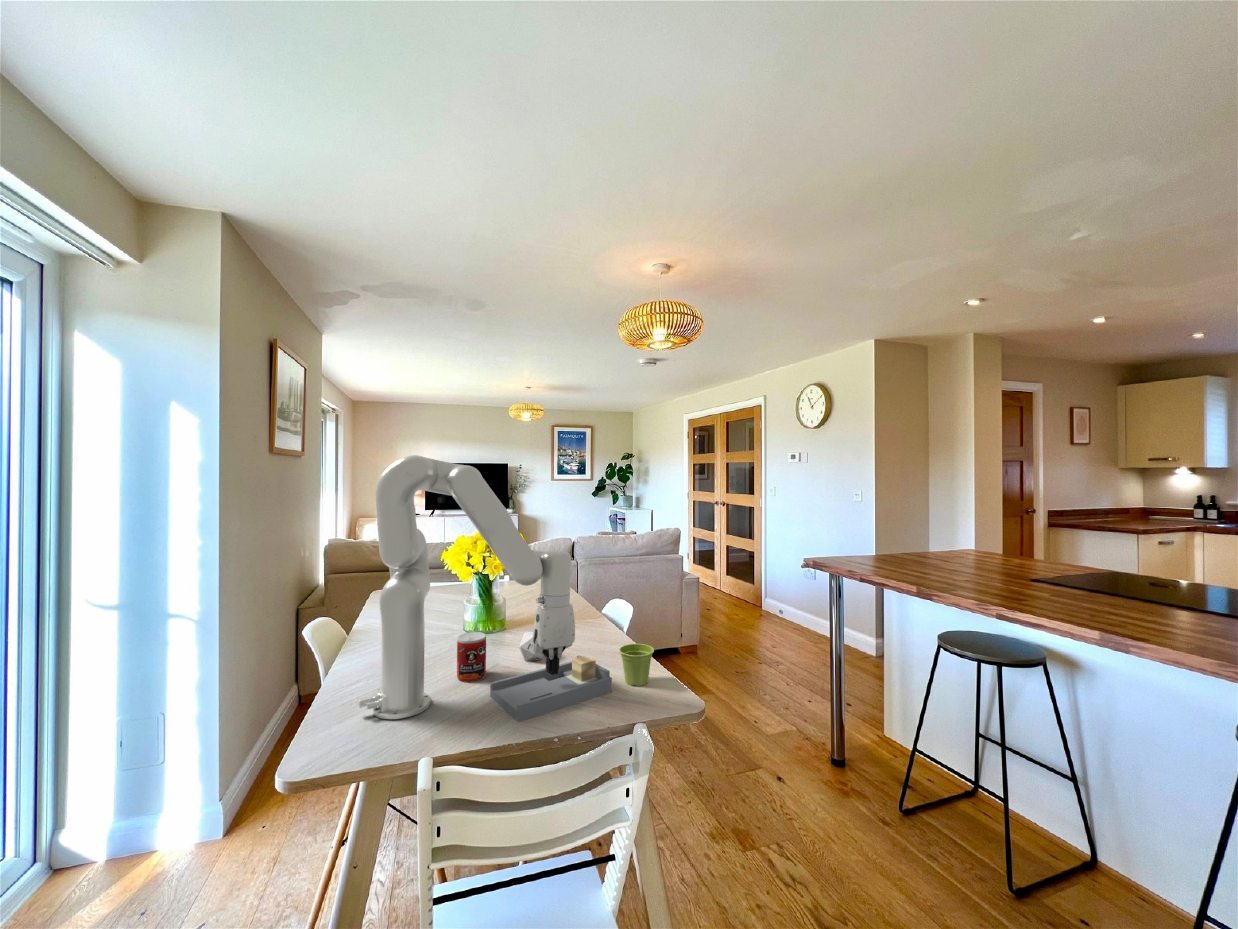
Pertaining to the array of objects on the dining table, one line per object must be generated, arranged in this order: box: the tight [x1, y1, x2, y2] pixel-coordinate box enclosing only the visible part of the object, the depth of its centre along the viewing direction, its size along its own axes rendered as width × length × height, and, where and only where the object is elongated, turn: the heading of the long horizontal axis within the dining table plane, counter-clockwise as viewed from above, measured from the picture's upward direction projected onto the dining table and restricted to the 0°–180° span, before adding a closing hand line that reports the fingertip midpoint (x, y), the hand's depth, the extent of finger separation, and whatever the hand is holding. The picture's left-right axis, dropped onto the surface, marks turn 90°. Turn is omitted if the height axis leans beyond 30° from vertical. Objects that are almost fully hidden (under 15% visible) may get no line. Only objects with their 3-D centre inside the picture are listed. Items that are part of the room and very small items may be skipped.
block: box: [571, 655, 597, 682], centre depth 133 cm, size 4×4×4 cm
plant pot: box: [618, 643, 655, 687], centre depth 135 cm, size 9×9×9 cm
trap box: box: [489, 654, 613, 723], centre depth 127 cm, size 26×16×5 cm, turn 128°
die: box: [519, 631, 545, 662], centre depth 152 cm, size 8×9×10 cm
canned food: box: [456, 631, 487, 683], centre depth 138 cm, size 8×8×11 cm
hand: (552, 672), depth 128 cm, fingers closed
